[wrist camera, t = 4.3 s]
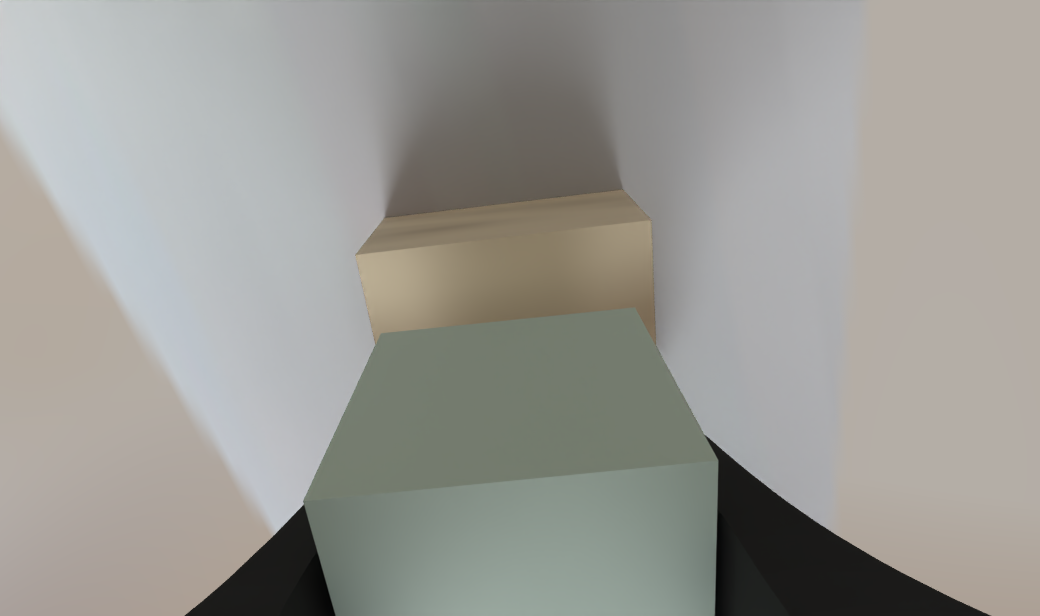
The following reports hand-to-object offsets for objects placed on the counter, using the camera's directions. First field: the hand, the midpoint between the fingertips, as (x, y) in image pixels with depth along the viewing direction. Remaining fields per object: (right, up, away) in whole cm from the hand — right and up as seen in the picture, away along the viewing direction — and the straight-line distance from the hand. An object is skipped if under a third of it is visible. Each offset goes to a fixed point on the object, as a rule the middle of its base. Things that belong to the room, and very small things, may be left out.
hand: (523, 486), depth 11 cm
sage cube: (0, +1, +2) cm, 2 cm away
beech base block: (0, +3, +8) cm, 9 cm away
